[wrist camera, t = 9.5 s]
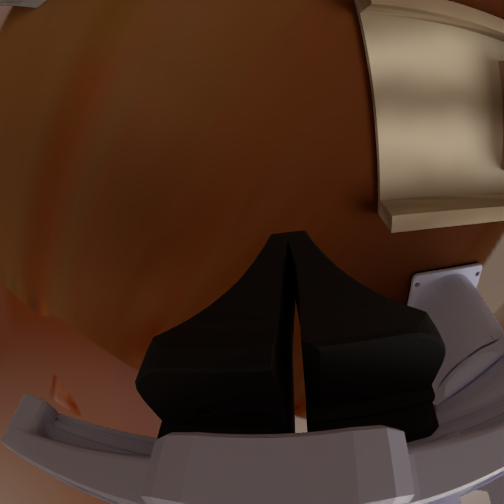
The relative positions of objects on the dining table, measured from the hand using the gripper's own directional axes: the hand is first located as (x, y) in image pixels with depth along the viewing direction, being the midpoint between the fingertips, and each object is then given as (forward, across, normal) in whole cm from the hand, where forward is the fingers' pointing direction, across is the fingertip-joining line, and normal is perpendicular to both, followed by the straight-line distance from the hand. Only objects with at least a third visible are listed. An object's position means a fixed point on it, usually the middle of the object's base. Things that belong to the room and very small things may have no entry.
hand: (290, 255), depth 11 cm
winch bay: (+9, -19, -4) cm, 22 cm away
